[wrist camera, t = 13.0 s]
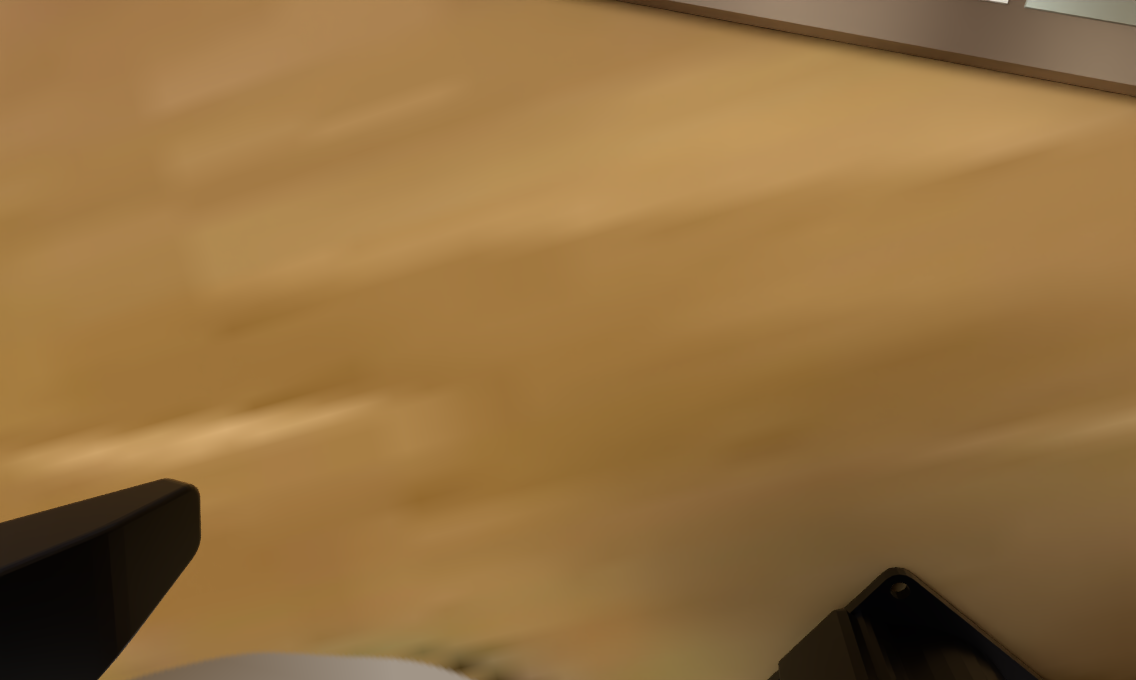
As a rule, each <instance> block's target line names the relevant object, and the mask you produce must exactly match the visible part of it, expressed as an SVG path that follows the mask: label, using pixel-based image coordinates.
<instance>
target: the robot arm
mask: <svg viewBox="0 0 1136 680" xmlns="http://www.w3.org/2000/svg"><path fill="white" fill-rule="evenodd" d="M200 540H201V516H200V493H199V491H198V489H197V487H195V486H194V485H192V484H188V483H185V482H181V481H178V480H174V479H168V478H167V479H160V480H157V481H153V482H149V483H145V484H142V485H138V486H134V487H131V488H127V489H123V490H120V491H116V492H112V493H109V494H105V495H101V496H97V497H94V498H90V499H86V500H83V501H79V502H75V503H72V504H68V505H64V506H61V507H57V508H53V509H50V510H46V511H42V512H38V513H35V514H31V515H27V516H24V517H20V518H16V519H13V520H9V521H5V522H2V523H0V680H98V679H99V678H100V677H101V676H102V674H103V673H104V672H105V671H106V670H107V669H108V667H109V666H110V665H111V664H112V663H113V662H114V661H115V659H116V658H117V657H118V656H119V655H120V653H121V652H122V651H123V650H124V648H125V647H126V646H127V645H128V643H129V642H130V641H131V640H132V638H133V637H134V636H135V634H136V633H137V632H138V630H139V629H140V628H141V626H142V625H143V624H144V622H145V621H146V620H147V618H148V617H149V616H150V614H151V613H152V612H153V610H154V609H155V608H156V606H157V605H158V604H159V602H160V601H161V600H162V598H163V597H164V596H165V594H166V593H167V592H168V590H169V589H170V588H171V587H172V585H173V584H174V583H175V581H176V580H177V579H178V577H179V576H180V575H181V573H182V572H183V571H184V569H185V568H186V567H187V565H188V564H189V563H190V561H191V560H192V559H193V557H194V555H195V554H196V552H197V550H198V547H199V544H200ZM896 583H905V584H906V587H905V589H904V590H902V591H900V592H895V591H892V590H891V587H892V586H893V585H894V584H896ZM778 665H779V670H778V671H777V672H775V673H774V674H773V675H772V676H771V677H770V678H769V679H768V680H1044V679H1042V678H1041V677H1040V676H1039V675H1037V674H1036V673H1035V672H1034V671H1032V670H1031V669H1030V668H1029V667H1027V666H1026V665H1025V664H1024V663H1022V662H1021V661H1020V660H1019V659H1017V658H1016V657H1015V656H1014V655H1013V654H1011V653H1010V652H1009V651H1008V650H1006V649H1005V648H1004V647H1003V646H1001V645H1000V644H999V643H998V642H996V641H995V640H994V639H993V638H991V637H990V636H989V635H988V634H986V633H985V632H984V631H983V630H981V629H980V628H979V627H978V626H976V625H975V624H974V623H973V622H971V621H970V620H969V619H968V618H966V617H965V616H964V615H963V614H962V613H960V612H959V611H958V610H957V609H955V608H954V607H953V606H952V605H950V604H949V603H948V602H947V601H945V600H944V599H943V598H942V597H940V596H939V595H938V594H937V593H935V592H934V591H933V590H932V589H930V588H929V587H928V586H927V585H925V584H924V583H923V582H922V581H920V580H919V579H918V578H917V577H915V576H914V575H913V574H912V573H911V572H909V571H907V570H905V569H904V568H898V567H895V568H890V569H887V570H886V571H884V572H883V573H882V574H881V575H879V576H878V577H877V578H876V579H875V580H874V581H873V582H872V583H871V584H870V585H869V586H868V587H867V588H866V589H864V590H863V591H862V592H861V593H860V594H859V595H858V596H857V597H856V598H855V599H854V600H853V601H852V602H851V603H849V604H848V605H847V606H846V607H845V608H844V609H838V610H834V611H832V612H831V613H830V614H829V615H828V616H827V617H826V618H825V619H824V620H823V621H822V622H821V623H820V624H819V625H817V626H816V627H815V628H814V629H813V630H812V631H811V632H810V633H809V634H808V635H807V636H806V637H805V638H804V639H803V640H801V641H800V642H799V643H798V644H797V645H796V646H795V647H794V648H793V649H792V650H791V651H790V652H789V653H788V654H787V655H785V656H784V657H783V658H782V659H781V660H780V661H779V664H778Z"/></svg>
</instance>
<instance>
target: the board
mask: <svg viewBox="0 0 1136 680" xmlns="http://www.w3.org/2000/svg"><path fill="white" fill-rule="evenodd" d="M619 1H624V2H629V3H635V4H640V5H646V6H651V7H656V8H662V9H667V10H673V11H678V12H683V13H689V14H694V15H700V16H705V17H710V18H716V19H721V20H727V21H732V22H737V23H743V24H748V25H754V26H759V27H764V28H770V29H775V30H781V31H786V32H791V33H797V34H802V35H808V36H813V37H818V38H824V39H829V40H835V41H840V42H845V43H851V44H856V45H862V46H867V47H872V48H878V49H883V50H889V51H894V52H899V53H905V54H910V55H916V56H921V57H926V58H932V59H937V60H943V61H948V62H953V63H959V64H964V65H970V66H975V67H980V68H986V69H991V70H997V71H1002V72H1007V73H1013V74H1018V75H1024V76H1029V77H1034V78H1040V79H1045V80H1051V81H1056V82H1061V83H1067V84H1072V85H1078V86H1083V87H1088V88H1094V89H1099V90H1105V91H1110V92H1115V93H1121V94H1126V95H1132V96H1136V0H619Z"/></svg>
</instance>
